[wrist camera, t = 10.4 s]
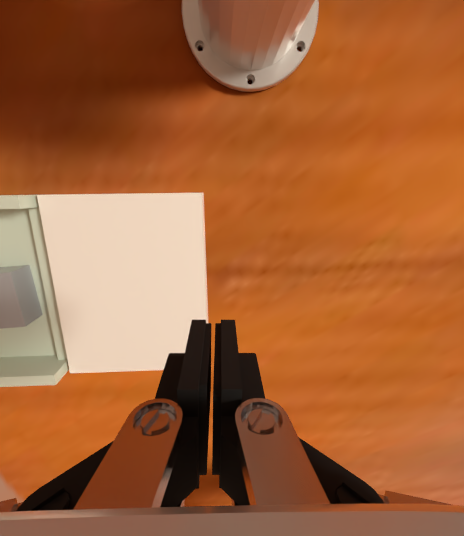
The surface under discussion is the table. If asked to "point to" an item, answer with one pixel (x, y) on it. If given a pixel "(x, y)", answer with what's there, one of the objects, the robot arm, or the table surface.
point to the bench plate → (126, 276)
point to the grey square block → (18, 297)
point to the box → (48, 325)
